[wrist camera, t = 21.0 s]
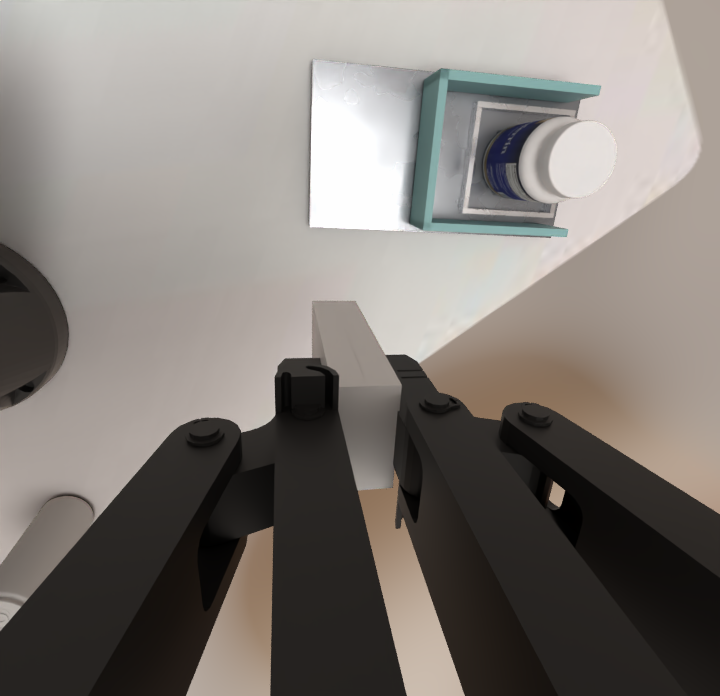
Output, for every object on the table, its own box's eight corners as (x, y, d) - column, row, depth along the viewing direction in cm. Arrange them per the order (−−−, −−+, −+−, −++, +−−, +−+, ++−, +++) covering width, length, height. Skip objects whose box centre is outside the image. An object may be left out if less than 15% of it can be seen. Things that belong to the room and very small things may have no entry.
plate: (309, 225, 38) (310, 228, 36) (312, 62, 34) (313, 56, 32) (543, 235, 42) (556, 239, 40) (574, 90, 37) (590, 85, 35)
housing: (409, 224, 38) (422, 230, 34) (424, 79, 34) (440, 68, 30) (540, 230, 40) (566, 237, 36) (569, 94, 36) (601, 85, 32)
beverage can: (92, 491, 44) (28, 597, 33) (99, 528, 46) (40, 641, 35) (39, 493, 44) (-45, 602, 33) (48, 531, 45) (-28, 647, 34)
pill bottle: (527, 110, 36) (609, 90, 27) (554, 172, 38) (637, 173, 29) (468, 152, 37) (528, 146, 27) (497, 211, 39) (562, 224, 30)
